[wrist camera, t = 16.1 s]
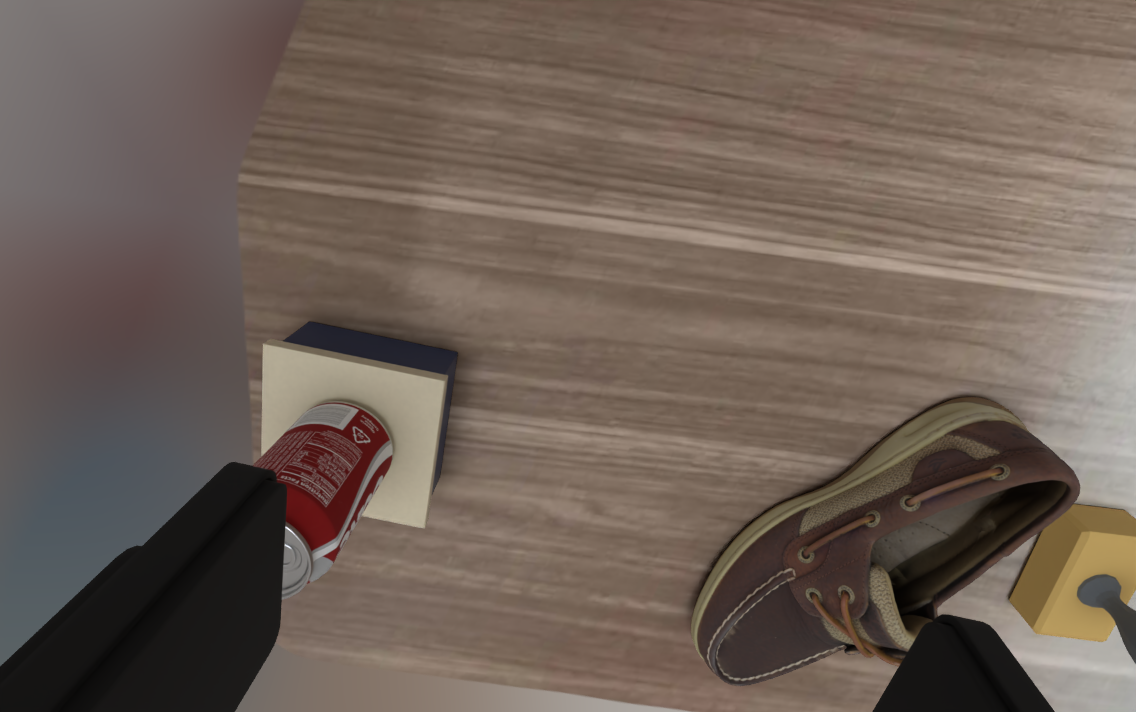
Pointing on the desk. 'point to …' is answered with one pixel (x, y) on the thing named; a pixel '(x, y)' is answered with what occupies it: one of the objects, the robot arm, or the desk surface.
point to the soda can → (326, 483)
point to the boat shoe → (880, 544)
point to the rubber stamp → (1082, 577)
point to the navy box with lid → (368, 403)
